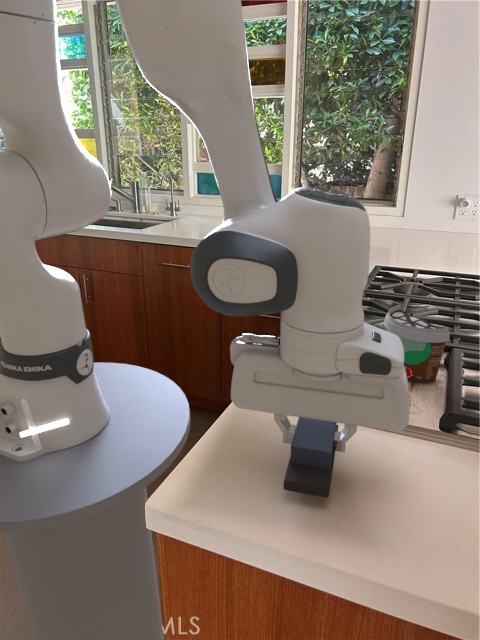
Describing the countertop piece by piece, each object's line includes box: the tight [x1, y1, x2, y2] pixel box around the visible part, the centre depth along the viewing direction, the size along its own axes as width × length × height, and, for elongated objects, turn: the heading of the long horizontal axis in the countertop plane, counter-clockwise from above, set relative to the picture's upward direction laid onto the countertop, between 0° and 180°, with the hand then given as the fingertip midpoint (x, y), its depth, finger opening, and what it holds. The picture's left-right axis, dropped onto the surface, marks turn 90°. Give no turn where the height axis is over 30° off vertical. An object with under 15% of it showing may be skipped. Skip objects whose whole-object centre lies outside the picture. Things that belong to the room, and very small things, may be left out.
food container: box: [383, 304, 451, 384], centre depth 77 cm, size 12×6×10 cm, turn 21°
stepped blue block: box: [283, 417, 339, 499], centre depth 56 cm, size 12×5×4 cm, turn 164°
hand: (314, 444), depth 56 cm, fingers closed on stepped blue block, 4 cm apart
